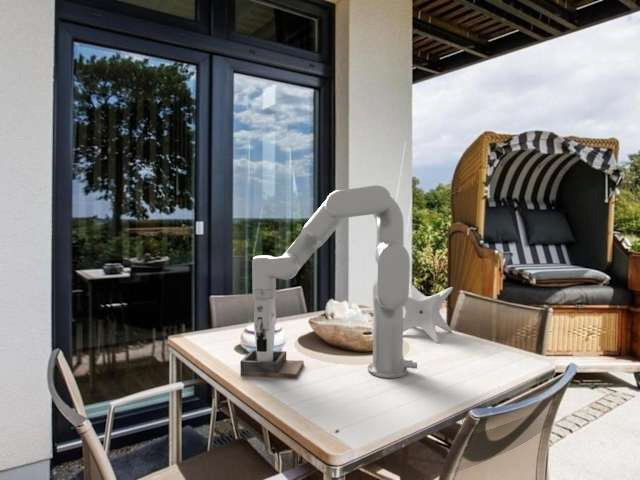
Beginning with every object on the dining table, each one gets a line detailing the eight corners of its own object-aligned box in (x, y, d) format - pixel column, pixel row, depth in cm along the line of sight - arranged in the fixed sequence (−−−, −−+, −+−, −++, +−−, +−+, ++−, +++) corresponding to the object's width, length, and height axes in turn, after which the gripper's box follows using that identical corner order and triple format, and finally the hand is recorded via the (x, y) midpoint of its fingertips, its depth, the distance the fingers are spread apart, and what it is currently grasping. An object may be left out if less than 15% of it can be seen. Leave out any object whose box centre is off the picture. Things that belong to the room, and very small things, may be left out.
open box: (303, 365, 144) (303, 352, 143) (296, 378, 132) (296, 364, 131) (252, 362, 146) (252, 349, 146) (240, 375, 134) (240, 361, 134)
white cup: (271, 365, 135) (271, 318, 135) (251, 364, 137) (250, 317, 136) (278, 358, 142) (277, 314, 141) (258, 357, 143) (258, 313, 143)
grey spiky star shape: (452, 332, 186) (453, 287, 185) (438, 343, 169) (439, 294, 168) (408, 326, 196) (408, 283, 195) (391, 336, 179) (392, 289, 178)
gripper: (268, 298, 129) (268, 357, 130) (281, 289, 146) (282, 340, 147) (244, 298, 130) (245, 356, 131) (260, 288, 147) (261, 340, 148)
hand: (264, 347), depth 139 cm, fingers closed on white cup, 6 cm apart
